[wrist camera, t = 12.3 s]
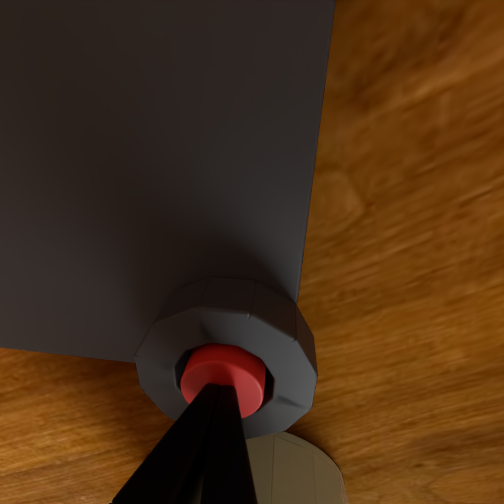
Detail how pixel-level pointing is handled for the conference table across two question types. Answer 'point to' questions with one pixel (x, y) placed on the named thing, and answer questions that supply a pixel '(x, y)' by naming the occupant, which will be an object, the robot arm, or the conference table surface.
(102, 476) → the conference table surface
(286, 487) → the pot
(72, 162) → the control block
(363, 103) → the conference table surface
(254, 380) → the button
